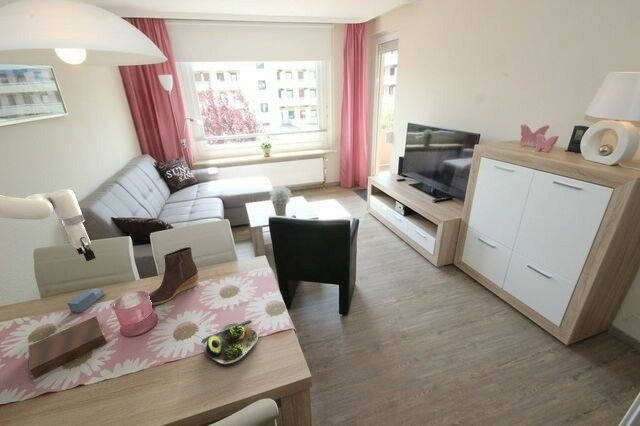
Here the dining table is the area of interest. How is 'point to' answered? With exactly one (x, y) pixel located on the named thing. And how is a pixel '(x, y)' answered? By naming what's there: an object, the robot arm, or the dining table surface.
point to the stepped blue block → (85, 300)
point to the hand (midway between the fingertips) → (87, 256)
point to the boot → (176, 276)
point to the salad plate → (230, 343)
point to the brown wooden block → (65, 346)
